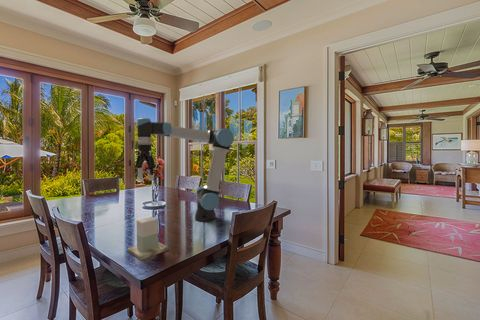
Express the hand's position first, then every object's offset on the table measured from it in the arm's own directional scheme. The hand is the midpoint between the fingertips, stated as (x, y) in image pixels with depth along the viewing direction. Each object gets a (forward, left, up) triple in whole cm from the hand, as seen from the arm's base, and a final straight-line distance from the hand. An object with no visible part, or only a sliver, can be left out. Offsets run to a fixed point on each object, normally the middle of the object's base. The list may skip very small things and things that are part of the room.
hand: (145, 179), depth 141 cm
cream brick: (+13, +27, -23) cm, 38 cm away
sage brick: (+13, +27, -30) cm, 43 cm away
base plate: (+13, +27, -32) cm, 44 cm away
